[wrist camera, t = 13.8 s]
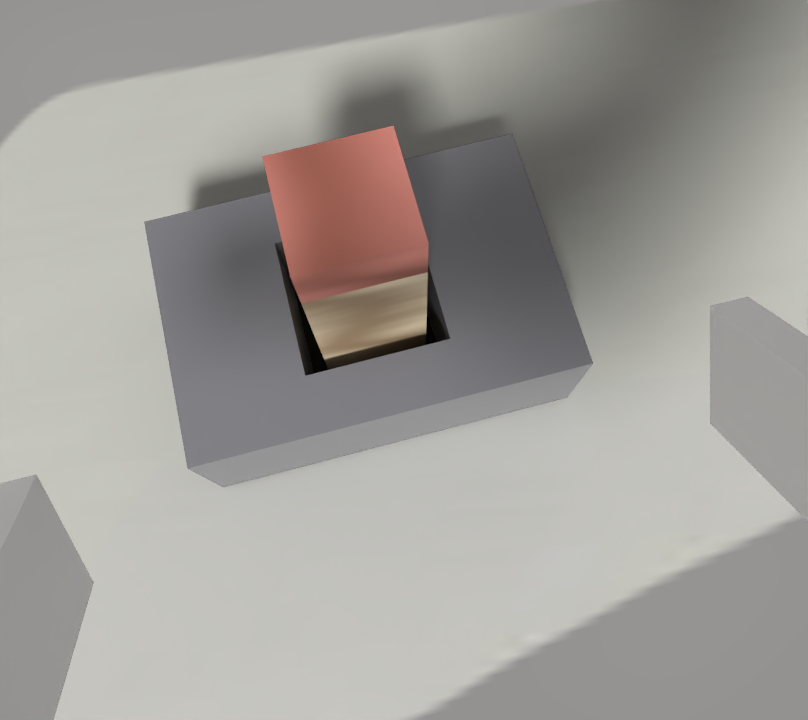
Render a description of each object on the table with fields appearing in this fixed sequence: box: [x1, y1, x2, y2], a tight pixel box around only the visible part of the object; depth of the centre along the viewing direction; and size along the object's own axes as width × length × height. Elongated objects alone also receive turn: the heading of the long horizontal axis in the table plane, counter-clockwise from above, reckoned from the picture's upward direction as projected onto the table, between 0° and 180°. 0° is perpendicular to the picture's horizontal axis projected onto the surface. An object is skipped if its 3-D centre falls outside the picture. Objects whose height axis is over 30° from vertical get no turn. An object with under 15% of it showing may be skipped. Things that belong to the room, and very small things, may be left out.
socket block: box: [144, 134, 593, 487], centre depth 31 cm, size 15×10×5 cm, turn 105°
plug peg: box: [262, 126, 429, 370], centre depth 27 cm, size 4×4×12 cm
